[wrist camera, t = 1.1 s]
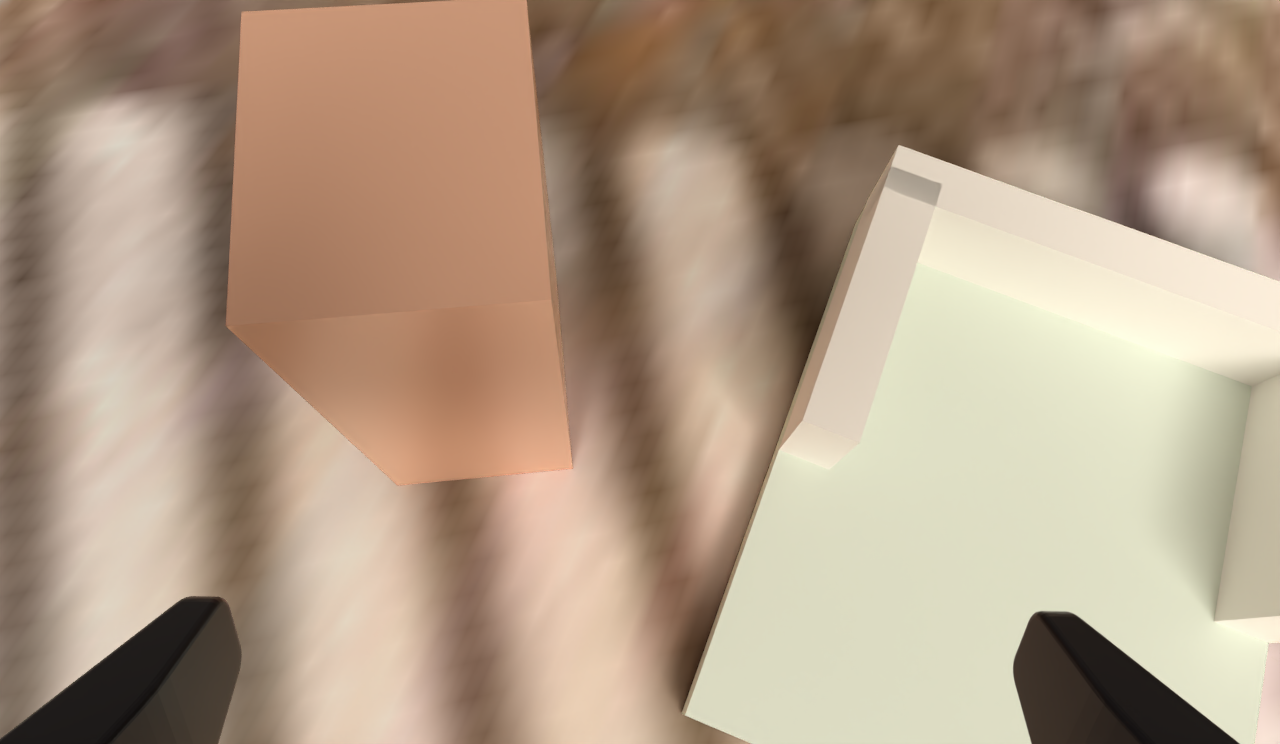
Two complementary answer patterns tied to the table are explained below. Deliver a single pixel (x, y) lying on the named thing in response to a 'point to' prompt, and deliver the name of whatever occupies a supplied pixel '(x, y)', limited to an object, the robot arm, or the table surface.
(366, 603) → the table surface
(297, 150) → the tall peach block
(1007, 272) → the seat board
